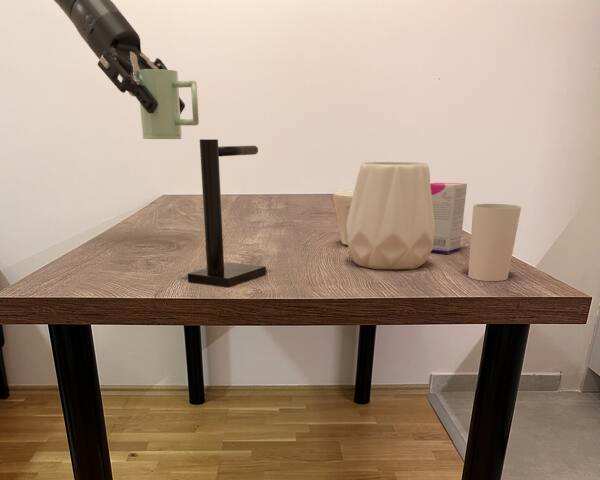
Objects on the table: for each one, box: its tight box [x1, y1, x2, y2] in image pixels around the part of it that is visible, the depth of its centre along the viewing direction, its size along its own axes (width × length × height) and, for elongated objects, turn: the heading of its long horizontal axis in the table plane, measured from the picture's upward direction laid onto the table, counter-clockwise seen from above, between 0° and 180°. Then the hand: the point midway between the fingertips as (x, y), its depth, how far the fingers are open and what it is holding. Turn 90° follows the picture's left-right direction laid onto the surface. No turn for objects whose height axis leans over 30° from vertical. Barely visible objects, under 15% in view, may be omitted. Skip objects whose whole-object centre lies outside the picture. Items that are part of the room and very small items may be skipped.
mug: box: [138, 69, 200, 140], centre depth 104 cm, size 11×6×10 cm, turn 62°
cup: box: [332, 190, 354, 247], centre depth 119 cm, size 10×10×9 cm
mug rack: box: [187, 138, 267, 288], centre depth 91 cm, size 14×7×18 cm, turn 152°
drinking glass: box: [467, 203, 522, 282], centre depth 93 cm, size 7×7×10 cm
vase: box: [346, 161, 435, 271], centre depth 101 cm, size 14×14×15 cm
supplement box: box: [430, 182, 468, 255], centre depth 113 cm, size 6×6×12 cm
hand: (167, 109), depth 105 cm, fingers closed on mug, 6 cm apart
